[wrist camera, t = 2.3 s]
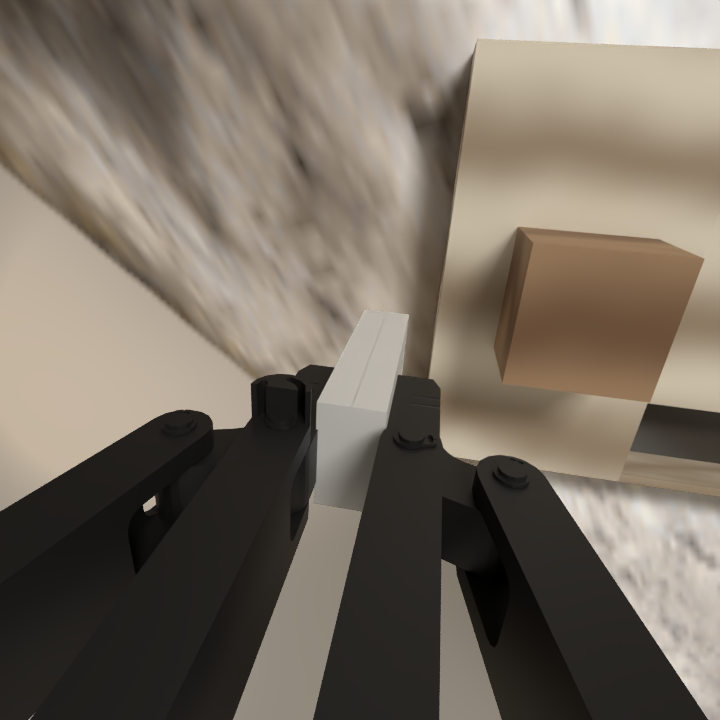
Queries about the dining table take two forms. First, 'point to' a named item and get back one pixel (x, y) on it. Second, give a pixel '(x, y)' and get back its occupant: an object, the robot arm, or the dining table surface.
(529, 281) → the walnut block
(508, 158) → the trap board
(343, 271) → the dining table surface
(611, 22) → the dining table surface
